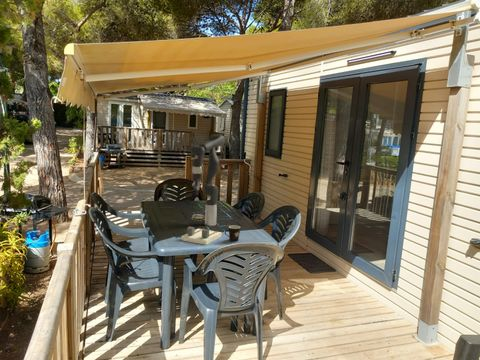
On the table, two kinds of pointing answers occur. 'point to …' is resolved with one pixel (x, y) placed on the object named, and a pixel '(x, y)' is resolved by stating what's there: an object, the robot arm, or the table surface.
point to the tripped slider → (190, 230)
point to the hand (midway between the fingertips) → (196, 194)
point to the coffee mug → (233, 233)
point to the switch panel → (199, 239)
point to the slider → (205, 233)
